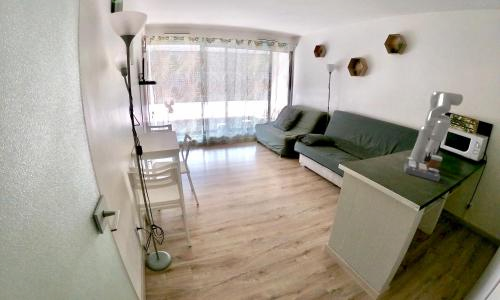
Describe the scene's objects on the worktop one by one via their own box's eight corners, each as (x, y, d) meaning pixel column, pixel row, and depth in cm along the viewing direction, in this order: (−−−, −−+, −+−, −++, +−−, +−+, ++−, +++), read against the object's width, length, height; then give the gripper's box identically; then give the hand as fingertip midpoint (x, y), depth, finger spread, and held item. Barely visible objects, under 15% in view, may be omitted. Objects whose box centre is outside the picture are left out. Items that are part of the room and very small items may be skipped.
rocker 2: (418, 163, 176) (419, 162, 176) (425, 165, 174) (426, 164, 174) (419, 169, 170) (420, 168, 169) (426, 171, 168) (427, 170, 167)
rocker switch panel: (402, 165, 188) (404, 160, 186) (433, 173, 179) (435, 168, 177) (404, 172, 172) (406, 167, 171) (438, 181, 164) (440, 176, 162)
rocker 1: (408, 161, 179) (409, 160, 178) (414, 163, 177) (415, 161, 177) (408, 167, 172) (409, 165, 172) (415, 168, 171) (416, 167, 170)
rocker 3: (428, 169, 174) (429, 167, 174) (435, 170, 172) (435, 169, 172) (431, 170, 166) (432, 168, 166) (438, 172, 164) (439, 170, 164)
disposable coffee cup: (431, 172, 180) (437, 158, 175) (419, 167, 188) (425, 153, 184) (439, 172, 182) (446, 158, 178) (428, 167, 191) (434, 154, 187)
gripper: (428, 134, 168) (419, 156, 175) (432, 139, 156) (421, 163, 163) (441, 136, 165) (430, 159, 172) (445, 141, 153) (434, 166, 160)
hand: (426, 161), depth 167 cm, fingers closed
